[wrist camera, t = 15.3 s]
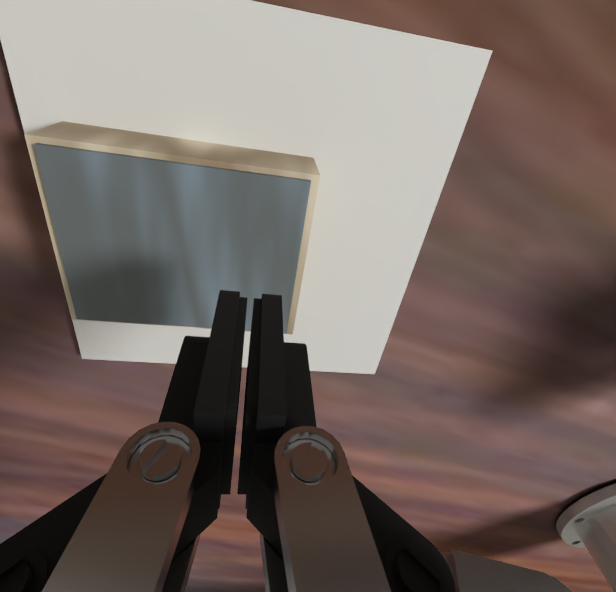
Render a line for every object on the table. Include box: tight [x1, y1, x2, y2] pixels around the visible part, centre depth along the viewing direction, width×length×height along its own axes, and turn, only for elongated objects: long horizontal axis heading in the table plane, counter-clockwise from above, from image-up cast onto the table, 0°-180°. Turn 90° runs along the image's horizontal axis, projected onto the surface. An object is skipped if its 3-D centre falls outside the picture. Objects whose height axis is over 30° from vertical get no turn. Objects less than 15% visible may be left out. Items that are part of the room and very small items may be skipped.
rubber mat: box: [0, 0, 492, 374], centre depth 16 cm, size 16×16×1 cm
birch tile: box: [24, 121, 320, 334], centre depth 14 cm, size 3×7×9 cm
